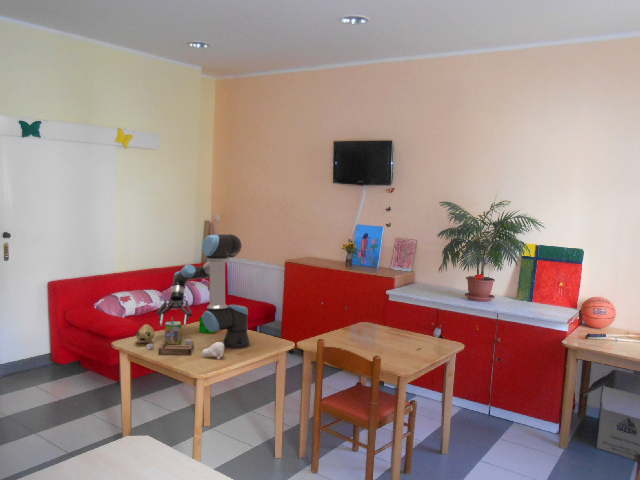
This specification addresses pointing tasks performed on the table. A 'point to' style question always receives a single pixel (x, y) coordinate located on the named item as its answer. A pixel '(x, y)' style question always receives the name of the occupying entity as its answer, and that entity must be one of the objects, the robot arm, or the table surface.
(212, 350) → the white lumpy piece
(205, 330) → the puzzle cube
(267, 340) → the table surface
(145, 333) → the tan toy creature
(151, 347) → the grey clip
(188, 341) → the grey clip
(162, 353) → the brown tray holder
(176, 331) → the chalk box
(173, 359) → the table surface
